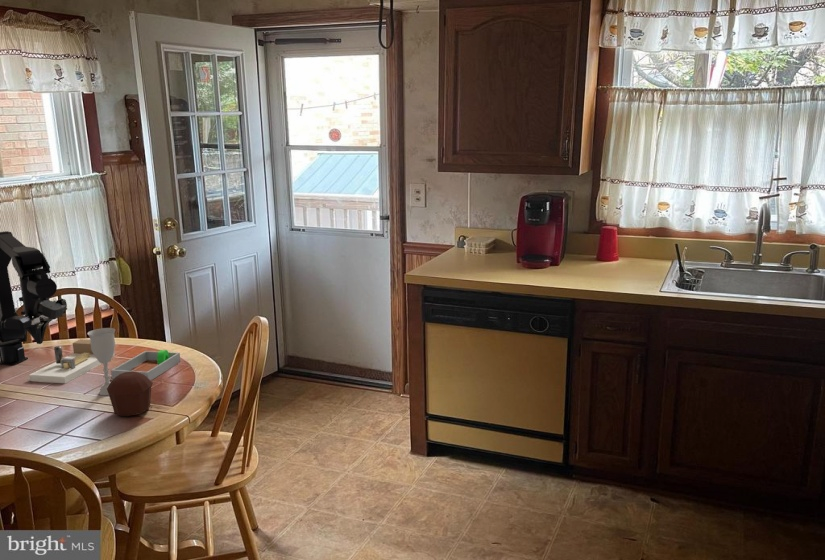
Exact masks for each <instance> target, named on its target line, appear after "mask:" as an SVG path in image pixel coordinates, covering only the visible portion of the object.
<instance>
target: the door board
mask: <svg viewBox="0 0 825 560" xmlns="http://www.w3.org/2000/svg"><path fill="white" fill-rule="evenodd" d="M72 349H73V351H72V352H73V353H71V354H69V355H68V356H65V357H63V359H61V364H60V363H59V364H57V363H56V361H55V362H53V363H51V364H49V365H46V366H44V367H42V368H40V369H37V371H34V372H32V373H30V374H28V376H29V377H28V378H29V381H30V382H39V383H50V384H51V383H52V384H67V383H69V382H71V381H72V380H74V379H76V378H78V377H80V376H82V375H84V374H86V373H87V372H90V371H92V370H93V369H96V368H97V367H99V366H101V365H103V364H102V363H100V362H99V361H98V360H97V358H96V357H95V356H94V354H93V352H92V350H91V343H90V339H84V338H83V339H78V340H76V341H74V342H72ZM83 353H89V355H90V358H88V359H86V360H84V361H82V362H80V363H78V364H76V365H75V361H74V359H72V358H74V357H76V356H79V355H81V354H83ZM114 357H116V356H115V352H114V354H113V356H112V358H114ZM64 362H70V365H71V367H70V368H64V365H63V363H64Z"/></svg>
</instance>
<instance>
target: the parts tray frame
mask: <svg viewBox="0 0 825 560" xmlns="http://www.w3.org/2000/svg"><path fill="white" fill-rule="evenodd" d="M158 352H159V351H153V350H152V351H151V350H144V351H143V352H141V353H139V354H137V355H136V356H133V357H132V358H130V359H129V360H126V361H124V362H123V363H121V364H119V365H118V366H115V367H114V368H111V370H110V376H111V381H112V380H113V379H114V378H115V377H116V376H118V375H119V374H121V373H124V372H130V371H132V370H134V368H136V367H138V366H139V365H141V364H143V363H144V362H146V361H153V362H154V361H155V362H157V355H158ZM168 353H169V359H167V360H165V361H164V362H162V363H160V364H159V365H158V364H157V365H156V366H154V367H152V368H151V369H149V370H148V371H144V370H143V371H140V370H134V371H135V372H139V373H141V374H144V375H145V376H147V377H148V378H149V379H150V380H151V381H153V380H155V378H157V377H159V376H160V375H162V374H164V373H165V372H166V371H168V370H170V369H172V368H173V367H175V366H176V365H177V364H179V363H181V353H180V352H174V351H173V352H171V351H168Z"/></svg>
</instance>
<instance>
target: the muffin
mask: <svg viewBox="0 0 825 560" xmlns="http://www.w3.org/2000/svg"><path fill="white" fill-rule="evenodd" d="M135 371H136V370H130V372H124V373H121V374H119V375H118V376H116V377H115V378H114V379H113V380H112V379H111V381H110V382H111V383H110V384H109V386H108V388H107V391H108V394H109V395H108V396H109V400H110V402H111V407H112V409H113V413H114V414H116V415H118V416H124V417H125V416H127V417H131V416H135V415H141V414H143V413H144V412H146V411H148V410H149V408H150V407H151V397H152V396H151V395H152V387H153V380H150V379H149V378H148V377H147V376H145V375H144V374H141V373H139V372H135Z"/></svg>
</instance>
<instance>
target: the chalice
mask: <svg viewBox="0 0 825 560" xmlns="http://www.w3.org/2000/svg"><path fill="white" fill-rule="evenodd" d="M115 332H116V329H115V328H114V327H100V328H97V329H93V330H89V331H88V332H87V335H88V336H89V340H90V343H91V350H92V352H93V354H94V356H95V357H96V358H97V360H98V361H99V362H100V363H102V364H101V365H103V369H102V371H103V372H104V375H103V378H104V380H105V382H104V383H103V384H102V385H101V386H100V389H99V393H98V395H100V396H109V394H108V391H107V388H108V386H109V384H110V383H111V381H110V376H111V374H109V370H110V368H109V366H108V363H110V362H112V361H111V360H112V356H113V354H114V353H115V348H116V339H115Z"/></svg>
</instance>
